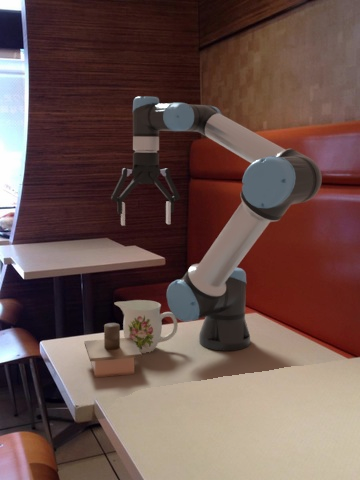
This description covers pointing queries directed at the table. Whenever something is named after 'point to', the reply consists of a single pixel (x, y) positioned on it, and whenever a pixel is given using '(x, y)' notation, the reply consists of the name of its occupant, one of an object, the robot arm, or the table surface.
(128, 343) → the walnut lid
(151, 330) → the pitcher
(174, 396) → the table surface
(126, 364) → the terracotta dish
